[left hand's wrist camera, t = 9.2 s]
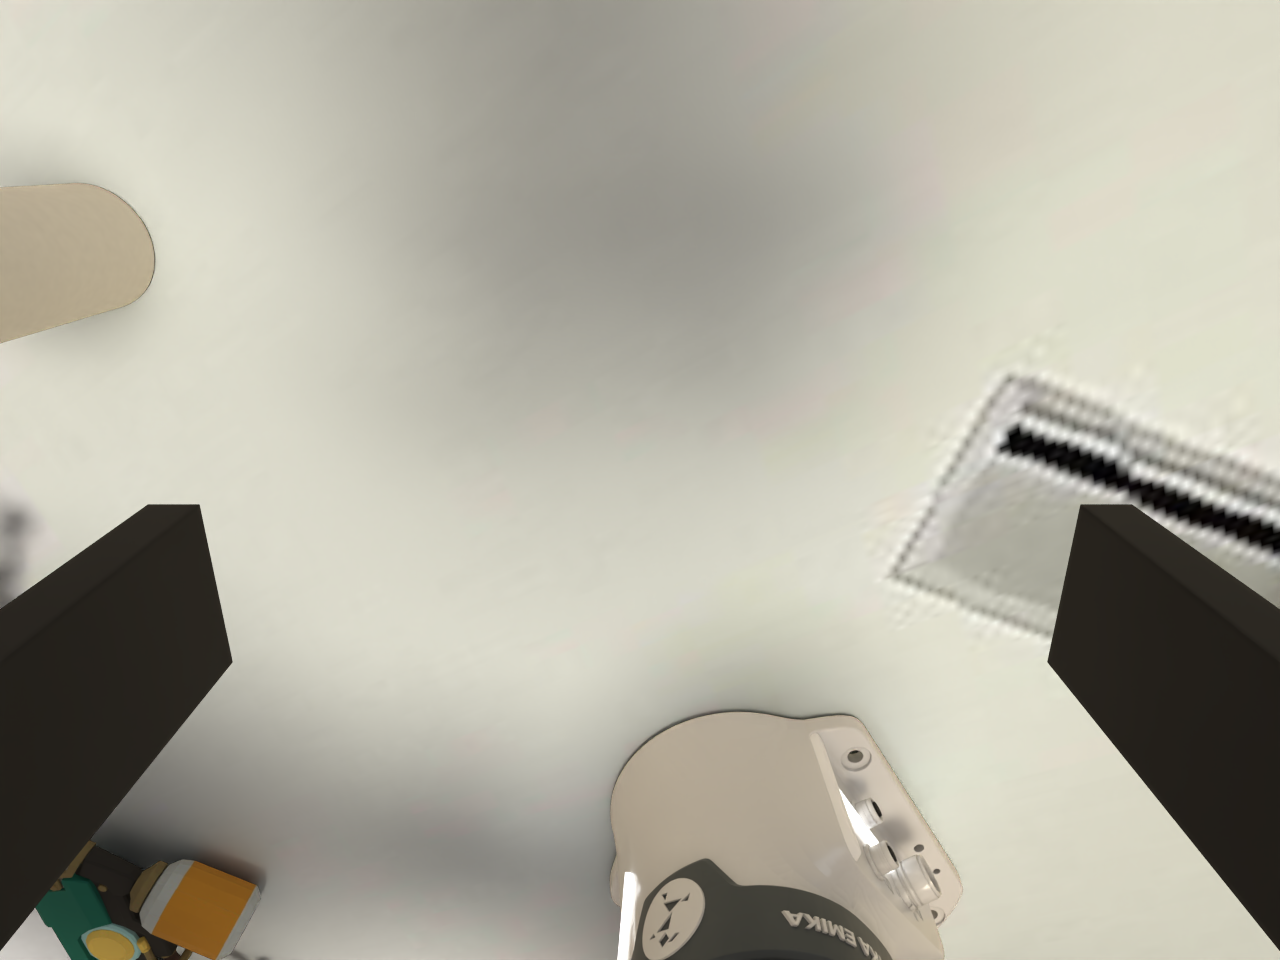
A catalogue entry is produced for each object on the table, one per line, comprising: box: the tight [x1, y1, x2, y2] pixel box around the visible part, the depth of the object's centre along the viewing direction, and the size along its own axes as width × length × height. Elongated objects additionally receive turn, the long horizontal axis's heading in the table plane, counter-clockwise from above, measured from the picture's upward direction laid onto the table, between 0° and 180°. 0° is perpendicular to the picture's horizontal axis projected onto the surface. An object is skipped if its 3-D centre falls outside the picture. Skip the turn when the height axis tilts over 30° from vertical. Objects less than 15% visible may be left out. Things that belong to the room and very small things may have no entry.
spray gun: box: [35, 840, 261, 960], centre depth 51 cm, size 4×17×15 cm
